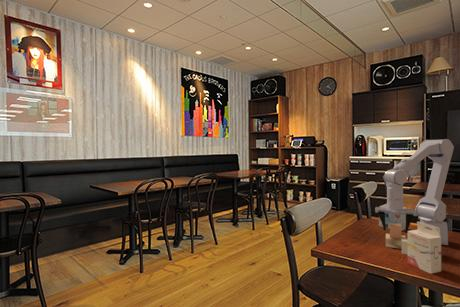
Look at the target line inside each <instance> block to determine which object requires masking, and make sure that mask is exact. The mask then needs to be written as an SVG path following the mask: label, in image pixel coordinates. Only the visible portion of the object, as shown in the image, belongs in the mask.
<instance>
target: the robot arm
mask: <svg viewBox="0 0 460 307" xmlns="http://www.w3.org/2000/svg"><path fill="white" fill-rule="evenodd" d="M454 148H455V146H454V145H453V143H452V141H451V140H450V139H448V138H444V139H425V140H423V141H422V142H421V143H420V144H419V147H418V148H417V149H416V151H415V152H414V153H413V154H412V155H411V156H410V157H409V158H406V157H405V158H402V159H401V160H400V162H399V163H398V164H396V165H395V166H393V168H391V169H387V171H385V173H384V175H383V176H382V178H383V181H384V182H385V186H386V205H387V207H379V206H375V208H374V210H375V211H374V212H375V213H377V215H378V218H379V217H380V219H381V222H382V224H383V227H382V228H383V231H386V230H387V228H386V224H385V213H391V214H402V215H406V226H405V230H404V232H405V233H406V234H408V231H409V228H410V225H411V223H412V222H413V220H414V217H418V219H419V222H421V223H425V224H429V225H432V226H435V227H439V228H440V236H441V245H444V246H449V230H448V229H449V227H448V223H447V221H444V220H446V217H447V210H446V209H447V205H446V204H445V203H444V202H443V200H442V195H443V191H444V188H445V185H446V184H445V183H446V180H447V175H448V173H449V167H450V164H451V160H452V156H453V153H454ZM426 157H428V159H430V160H432V162H433V164H432V169H431V174H430V176H429V180H428V186H427V189H426V193H425V196H424V197H422V198H420V199H419V200H418V203H417V204H416V206H415V209H407V208H406V209H403V207H404V184H406V182H407V179H408V177H409V175H411V173H412V172H414V171H415V170H416V169H417V167H418V166H417V164H419V163H420V162H421V161H422V160H424V159H425V158H426ZM424 228H425V229H428V230H432V229H431V228H429V227H424Z"/></svg>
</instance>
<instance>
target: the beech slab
mask: <svg viewBox="0 0 460 307" xmlns="http://www.w3.org/2000/svg"><path fill="white" fill-rule="evenodd" d="M402 238H405V239H407V238H406V235H402V234H401V239H396V238H390V233H385V247H386V248H393V249H399V250H402Z"/></svg>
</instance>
